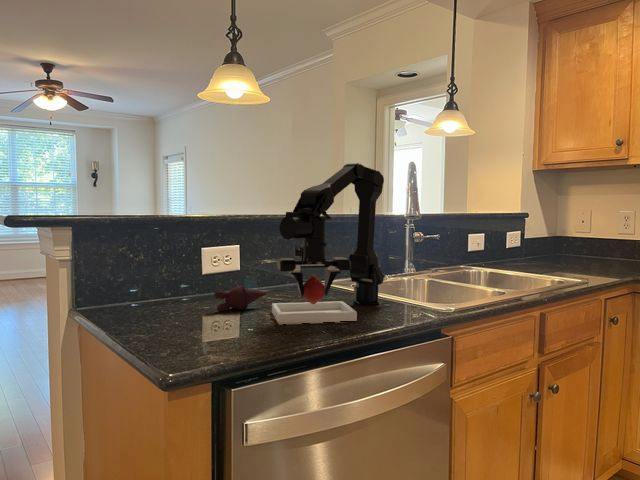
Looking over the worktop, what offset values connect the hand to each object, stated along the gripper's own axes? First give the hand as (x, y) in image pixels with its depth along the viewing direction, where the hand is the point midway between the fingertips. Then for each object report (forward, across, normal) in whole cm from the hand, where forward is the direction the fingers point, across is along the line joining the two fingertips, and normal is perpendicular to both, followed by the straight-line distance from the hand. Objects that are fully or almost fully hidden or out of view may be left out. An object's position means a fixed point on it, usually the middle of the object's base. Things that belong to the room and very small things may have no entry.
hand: (313, 296), depth 124 cm
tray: (+5, 0, 0) cm, 5 cm away
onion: (+2, 0, 0) cm, 2 cm away
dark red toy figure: (+6, +18, -12) cm, 22 cm away
